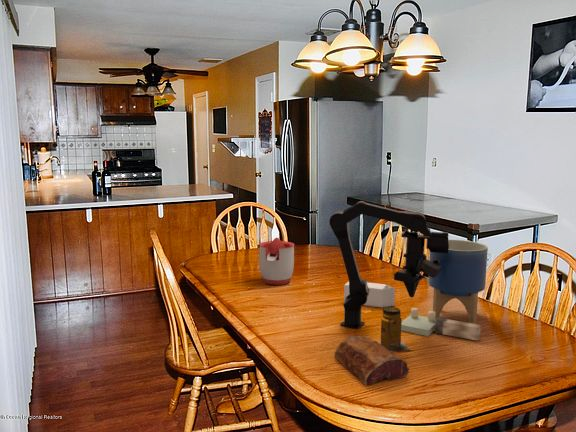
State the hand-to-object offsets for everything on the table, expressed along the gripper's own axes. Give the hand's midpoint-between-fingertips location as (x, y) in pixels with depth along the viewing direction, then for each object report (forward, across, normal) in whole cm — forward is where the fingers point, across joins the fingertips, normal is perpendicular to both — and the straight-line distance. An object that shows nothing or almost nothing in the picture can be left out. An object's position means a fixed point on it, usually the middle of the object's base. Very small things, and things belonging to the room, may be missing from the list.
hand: (411, 297), depth 171 cm
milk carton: (+8, +16, +32) cm, 37 cm away
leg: (+10, +3, -15) cm, 18 cm away
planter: (+11, +21, -9) cm, 25 cm away
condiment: (+12, -17, -1) cm, 20 cm away
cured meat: (+12, -31, 0) cm, 33 cm away
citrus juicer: (+13, +20, +69) cm, 73 cm away
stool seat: (+11, +3, -2) cm, 12 cm away
